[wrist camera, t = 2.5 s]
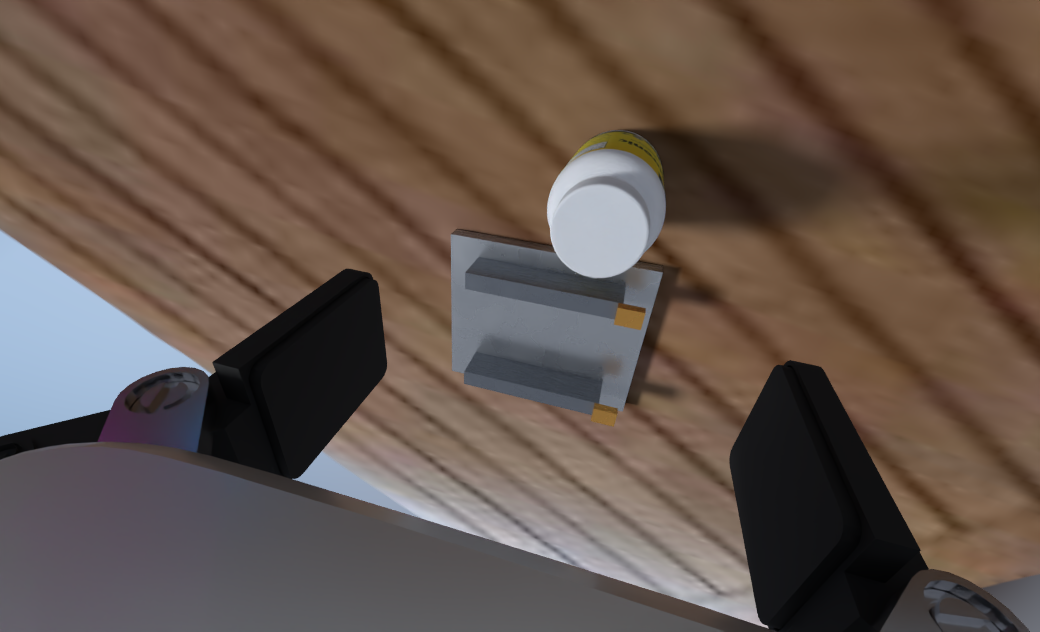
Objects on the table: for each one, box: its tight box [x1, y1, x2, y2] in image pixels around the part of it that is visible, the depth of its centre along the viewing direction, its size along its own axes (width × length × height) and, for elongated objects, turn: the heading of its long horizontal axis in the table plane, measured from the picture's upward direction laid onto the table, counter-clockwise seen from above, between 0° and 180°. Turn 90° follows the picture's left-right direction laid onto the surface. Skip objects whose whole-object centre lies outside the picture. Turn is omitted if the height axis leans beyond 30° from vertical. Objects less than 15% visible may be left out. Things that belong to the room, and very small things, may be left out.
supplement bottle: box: [547, 130, 666, 278], centre depth 21 cm, size 5×5×10 cm
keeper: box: [451, 229, 663, 427], centre depth 30 cm, size 14×12×4 cm
